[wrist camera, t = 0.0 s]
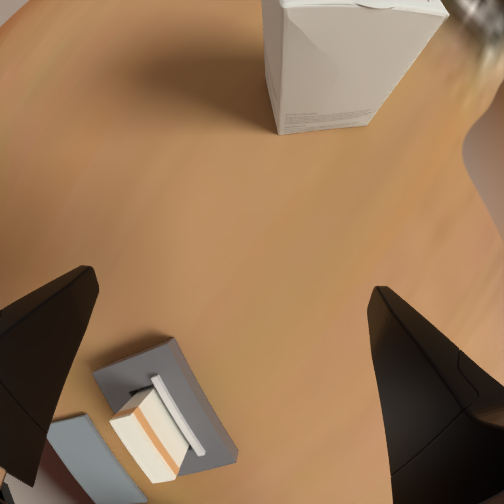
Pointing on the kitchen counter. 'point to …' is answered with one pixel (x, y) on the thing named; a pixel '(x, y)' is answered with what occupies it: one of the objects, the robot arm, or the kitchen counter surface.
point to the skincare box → (340, 57)
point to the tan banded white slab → (151, 435)
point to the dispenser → (171, 401)
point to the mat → (92, 462)
